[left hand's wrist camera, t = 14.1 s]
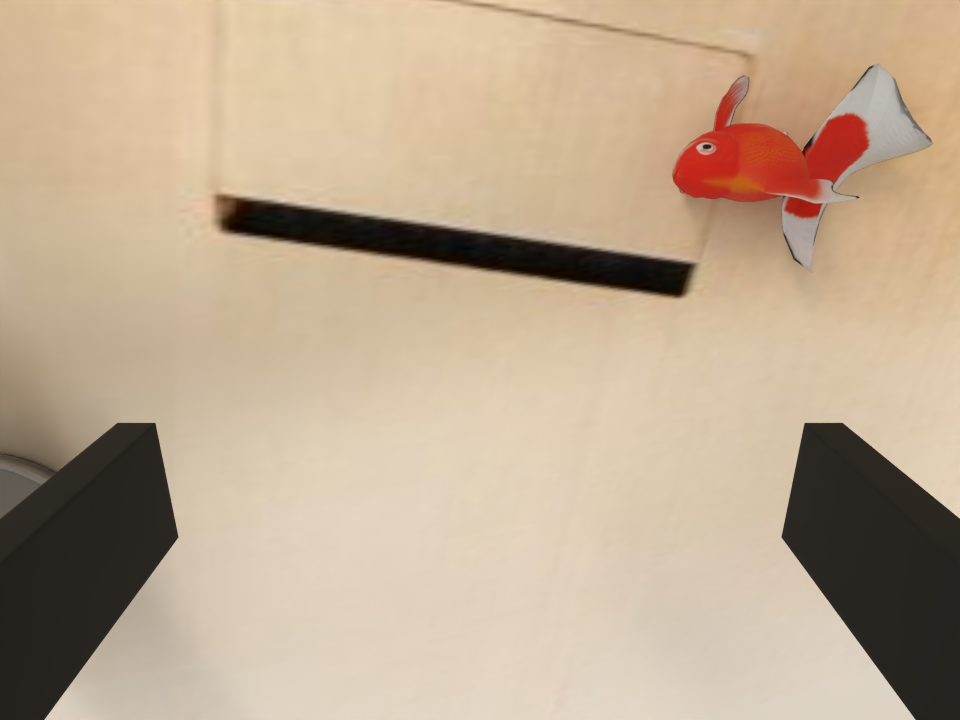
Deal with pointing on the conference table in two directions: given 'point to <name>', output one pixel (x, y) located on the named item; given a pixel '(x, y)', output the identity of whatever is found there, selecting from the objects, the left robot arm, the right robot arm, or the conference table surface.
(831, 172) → the fish
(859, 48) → the conference table surface
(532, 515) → the conference table surface
